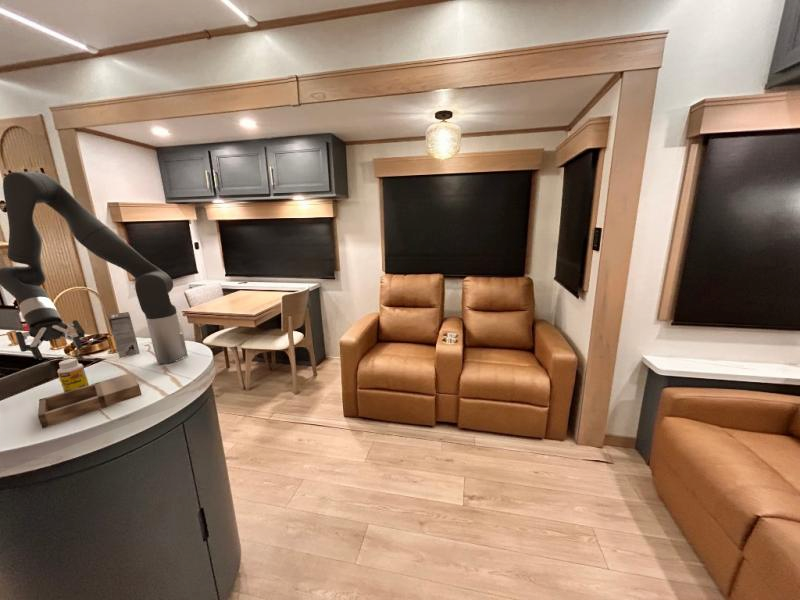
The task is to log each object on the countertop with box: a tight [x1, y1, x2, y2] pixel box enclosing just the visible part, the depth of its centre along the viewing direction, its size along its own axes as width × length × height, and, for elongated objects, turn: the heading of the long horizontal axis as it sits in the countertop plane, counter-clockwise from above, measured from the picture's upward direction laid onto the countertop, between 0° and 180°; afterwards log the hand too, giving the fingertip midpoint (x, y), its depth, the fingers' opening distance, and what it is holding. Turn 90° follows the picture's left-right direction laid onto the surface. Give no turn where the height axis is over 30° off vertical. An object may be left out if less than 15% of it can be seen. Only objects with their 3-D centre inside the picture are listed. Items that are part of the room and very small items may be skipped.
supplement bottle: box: [56, 358, 90, 392], centre depth 97 cm, size 6×6×10 cm
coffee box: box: [107, 311, 140, 359], centre depth 126 cm, size 9×6×16 cm
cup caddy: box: [37, 372, 143, 429], centre depth 91 cm, size 20×12×4 cm, turn 137°
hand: (60, 353), depth 99 cm, fingers open, 8 cm apart
